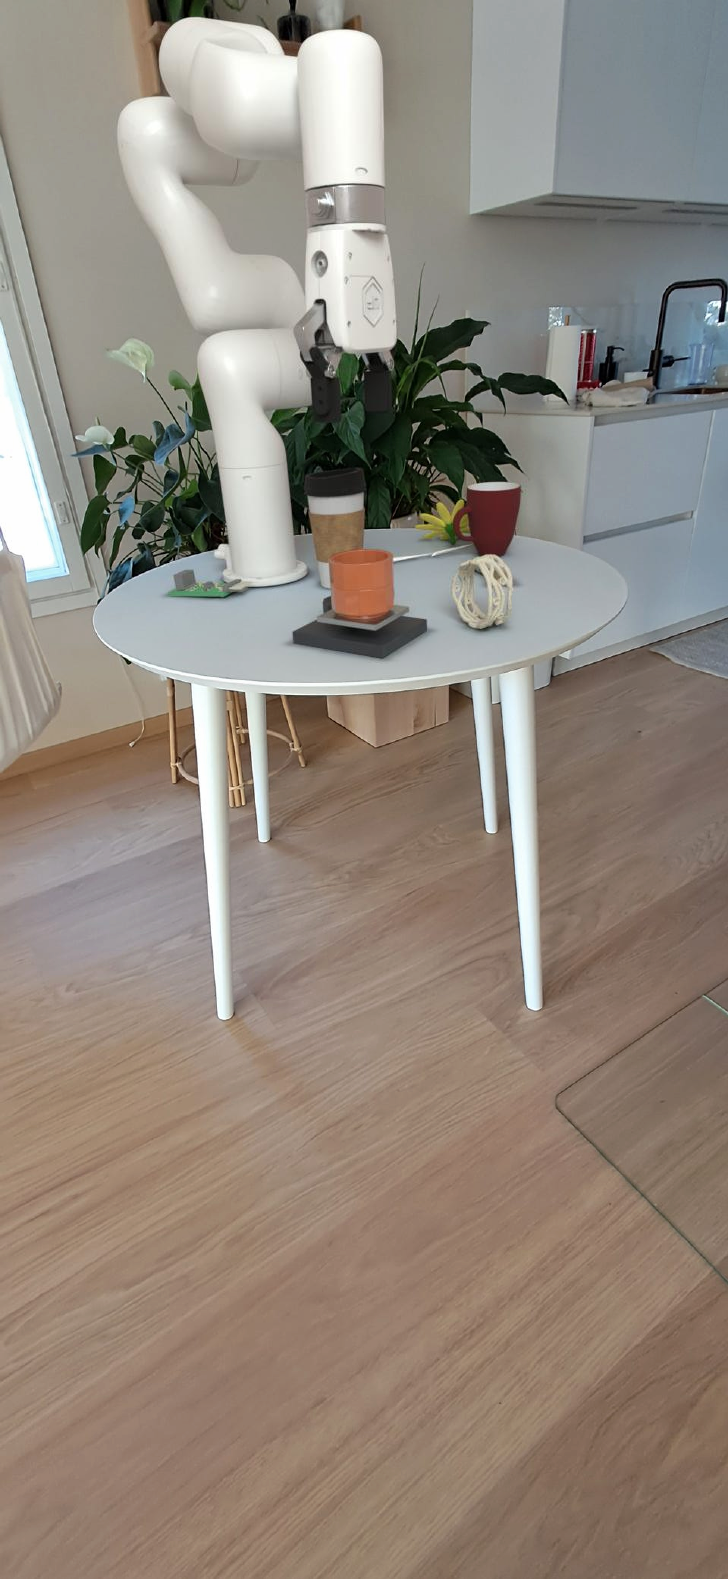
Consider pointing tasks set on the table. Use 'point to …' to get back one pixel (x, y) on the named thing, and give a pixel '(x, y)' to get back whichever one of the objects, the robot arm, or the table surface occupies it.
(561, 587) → the table surface
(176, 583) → the circuit board
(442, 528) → the flower
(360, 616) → the orange cup
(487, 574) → the bracelet
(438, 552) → the silver knife
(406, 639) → the scale
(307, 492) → the coffee cup
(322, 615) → the weighing plate
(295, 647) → the table surface
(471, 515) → the mug
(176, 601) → the table surface
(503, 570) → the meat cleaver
